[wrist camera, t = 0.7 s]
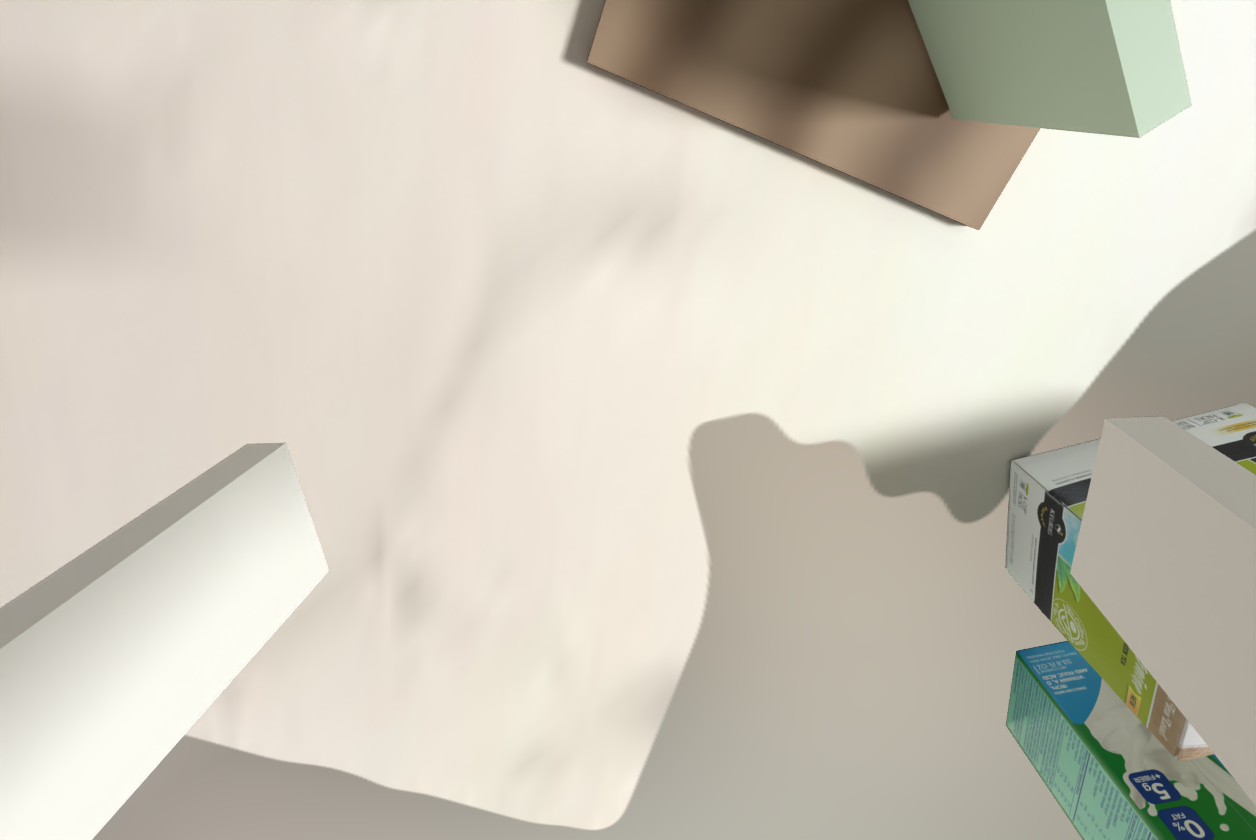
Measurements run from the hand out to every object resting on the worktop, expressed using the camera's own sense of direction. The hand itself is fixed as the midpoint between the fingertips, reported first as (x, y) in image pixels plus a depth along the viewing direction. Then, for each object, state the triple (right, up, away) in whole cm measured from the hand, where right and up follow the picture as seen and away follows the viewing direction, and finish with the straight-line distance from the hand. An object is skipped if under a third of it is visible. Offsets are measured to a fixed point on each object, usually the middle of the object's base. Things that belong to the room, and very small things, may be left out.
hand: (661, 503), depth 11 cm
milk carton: (+34, -19, +41) cm, 56 cm away
